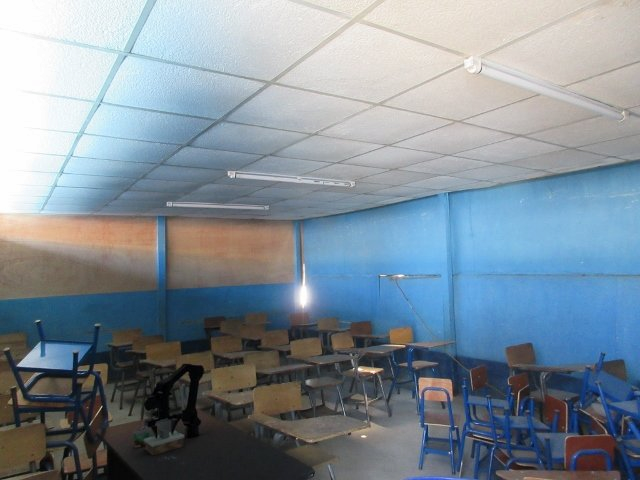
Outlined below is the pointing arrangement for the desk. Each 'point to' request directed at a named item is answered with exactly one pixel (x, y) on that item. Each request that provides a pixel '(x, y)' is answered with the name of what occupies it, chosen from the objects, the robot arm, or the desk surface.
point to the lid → (163, 437)
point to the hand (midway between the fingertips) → (164, 436)
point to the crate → (164, 447)
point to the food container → (141, 436)
